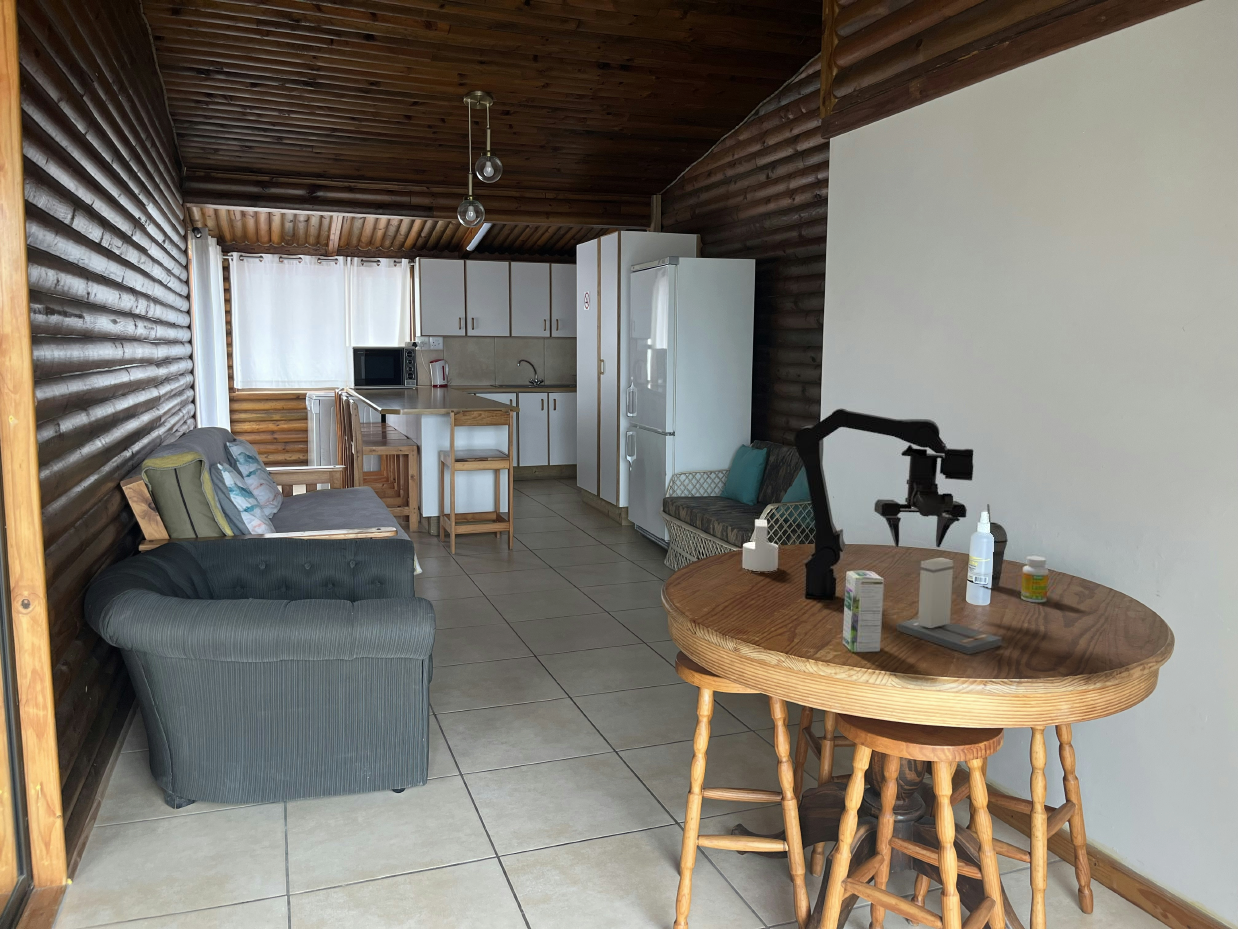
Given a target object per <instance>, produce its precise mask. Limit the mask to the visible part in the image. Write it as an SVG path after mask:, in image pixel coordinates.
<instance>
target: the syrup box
mask: <svg viewBox="0 0 1238 929" xmlns="http://www.w3.org/2000/svg"><path fill="white" fill-rule="evenodd" d="M884 585H885V579H884V578H883V577H881V576H880V575H878V573H876V572H874V571H871V570H850V571H846V577H845V590H844V592H845V595H844V608H843V609H844V610H843V627H842V628H843V629H842V630H843V631H842V644H843V645H844V646H845V647H846V648H848V649H849V650H850V652H851V653H871V652H880V651H881V639H882V623H883V622H882V620H883V604H884Z"/></svg>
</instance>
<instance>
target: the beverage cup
mask: <svg viewBox="0 0 1238 929" xmlns="http://www.w3.org/2000/svg"><path fill="white" fill-rule="evenodd" d="M986 506H987V515H988V514H989V522H990V533H991V534H992V535H993V537H994V552H993V575H992V587H993V588H992V589H997V588H999V585H1000V581H1001V577H1002V568H1003V563H1004V557H1005V550H1006V548H1007V543H1008V542H1009V541H1008V536H1007V535H1008V534H1007V532H1006V530H1005V528H1004V527H1003V526H1002V525H1001V524H999V523H998V522H992V521H991V512H990V510H991V509H990V504H989V503H986Z"/></svg>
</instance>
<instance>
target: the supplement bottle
mask: <svg viewBox="0 0 1238 929" xmlns="http://www.w3.org/2000/svg"><path fill="white" fill-rule="evenodd" d="M1025 563H1026V564H1027V565H1025V566H1023V567H1022V571H1021V572H1022V574H1021V588H1020V589H1021V590H1020V598H1021V599H1022V600H1024V601H1026V602H1030V603H1045V602H1046V601H1047V598H1048V597H1047V596H1048V583H1049V570H1048V568H1047V567H1045V566H1046V564H1047V559H1046V558H1045V557H1043V556H1036V555H1035V556H1033V555H1031V556H1030V555H1028V556H1026V562H1025Z"/></svg>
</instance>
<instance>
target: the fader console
mask: <svg viewBox="0 0 1238 929" xmlns="http://www.w3.org/2000/svg"><path fill="white" fill-rule="evenodd" d="M896 630H897V631H898V632H901V633H904V634H906V635H910V636H912V637H915V638H918V639H920V640H925V641H927V642H931V643H933V644H936V645H939V646H942V647H946V648H948V649H950V650H953V651H957V652H959V653H963V654H966V655H972V654H975V653H980V652H983V651H986V650H990V649H993V648H997V647H1001V646H1002V644H1003V637H1001V636H997V635H994V634H991V633H988V632H985V631H981V630H978V629H974V628H972V627H968V626H965V625H961V624H959V623H955V622H953V621H950V623H949V624H945V625H941V626H937V627H933V628H928V627H925V626H922V625H919V624H918V618H914V619H909V620H906V621H901V622H897V625H896Z"/></svg>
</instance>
